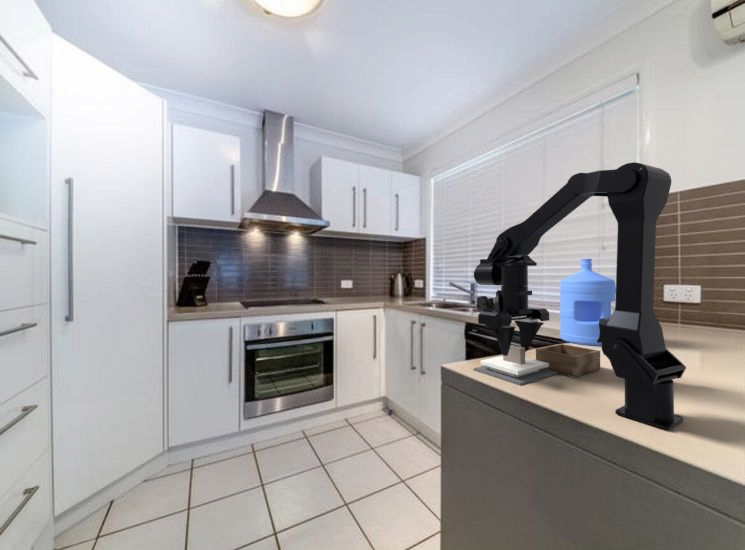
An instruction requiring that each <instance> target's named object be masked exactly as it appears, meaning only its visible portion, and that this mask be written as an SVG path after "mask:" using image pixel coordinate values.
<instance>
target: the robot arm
mask: <svg viewBox="0 0 745 550" xmlns="http://www.w3.org/2000/svg"><path fill="white" fill-rule="evenodd" d="M671 186H672V178H671V174H670V173H669V172H667V171H666V170H665V169H663V168H661V167H660V168H659V167H656V166H652V165H648V164H644V163H641V162H635V161H633V162H628V163H625V164H623V165H621V166H619V167H618V168H616V169H605V170H603V169H602V170H595V171H591V172H578V173H575V174H572V175H570V177H569V179H568V180H567V182H566V183H565V184H564V185H563V186H562V187H560V189H559V190H558V191H556V193H554V194H553V195H552V196H551V197H550V198H549V199H547V200H546V201H545V202H544V203H543V204H542V205H540V207H538V208H537V209H536V210H535V211H534V212H533V213H531V215H530V216H528V217H527V218H526V219H525V220H523V221H522V222H520V223H518V224H515V225H512V226H510V227H508V228H507V229H505V230H503V231H502V232H501V233H499V234H498V236H497V237H496V240H495V243H494V245H493V247H492V249H491V251H490V252H489V254H488V256H487V257H486V259H485V258H481V259H479V264H478V265H476V267H475V269H474V272H473V278H474V279H473V280H475V282H476V283H477V284H478V285H480V286H498V287H499V286H500V289H498V290H496V291H495V296H494V297H490V298H488V297H487V295H481V296H478V297H477V298H476V303H475V304H476V309H477V310H478V311H480V312H479V313H478V314H477V323H478V324H479V325H484V326H485V327H486V328H489V329H490V330H491V331H492V332H493V334H494V336H495V339H496V341H497V344H498V346H499V349H500V351H501V352H500V353H501V356H503V355H504V356H507V355H508V353H509V350H510V346H511V345H512V341H513V338H514V333H515V329H516V326H517V327H518V330H519V339H520V340H519V342H520V347H524V348H525V353H526V352H528V350H529V348H530V346H531V344H532V342H533V341H534V339H535V338H536V336H537V334H538V332H539V330H540V329H541V327H542V326H544V322H546V321H549V322H550V312H549V311H548V309H547V308H541V307H531V306H529V296H533V290H529V275H528V274H529V267H536V266H537V265H538V263H537V261H535V260H533V259H532V258H531V257H530V256H529V255H530V254H531V253H532V252H533V250H535V248H537V246H538V245H539V243H540V240H541V238H542V237H543V236H544V235H545V234H546V233H547V232H548V231H550V230H551V229H552V228H553V227H555V226H556V225H558V224H559V223H560V222H561V221H563V219H565V218H566V217H567V216H569V215H570V214H571V213H572V212H574V211H575V210H576V209H577V208H579V207H580V206H581V205H582V204H584V203H585V202H586V201H587V200H588V199H590V198H591V197H604V198H605V197H606V198H607V201H608V206H609V208H610V210H611V213H612V214H613V216H614V218H615V220H616V223H617V233H616V234H617V235H616V236H617V237H616V238H617V240H616V241H617V242H616V243H617V244H616V245H617V246H616V268H615V269H616V272H615V276H616V277H615V286H616V293H615V301H614V302H615V306H614V307H615V308H614V310H613V312H612V313H611V317H610V318H601V319H599V329H600V335H599V339H598V340H597V342H598V343H601V342H602V344H601V346H600V347H601V351H602V354H603V355H604V356H605V357H606V358H607V359H608V361H609V363H610V366H611V367H612V370H613V373H614V376H615V377H617V378H619V379H623V381H624V382H623V383H624V405H622V406H620V407H618V408H616V409H615V410H614V411H615V414H616V415H619V416H622V417H626V418H629V419H632V420H635V421H639V422H641V423H644V424H647V425H650V426H654V427H656V428H660V429H663V430H666V431H670V430H672V429H673V428H675V427H676V426H678V425H679V424H680V423H682V422H683V421H684V416H682V415H680V414H675V403H674V402H675V399H674V398H675V397H674V396H675V395H674V394H675V391H674V390H675V389H674V387H675V385H674V380H675V379H681V378H682V377H683V375H684V373H685V371H686V369H687V366H686V365H685V364H684V363H683V362H682V361H681V360H680V359H678V358H677V357H676V356H675V355H674V354H673V353H672V352H671V351H670V350H669V349H668V348H666V343H665V338H664V333H663V328H662V326H661V323H660V322H659V320H658V317H657V316H656V314H655V310H654V297H655V295H654V294H655V293H654V292H655V266H656V265H655V264H656V263H655V261H656V237H657V235H656V233H657V221H658V219H659V217H660V215H661V214H662V212H663V210H664V208H665V207H666V205H667V202H668V198H669V196H670V195H669V194H670V189H671ZM512 322H514V324H515V325H516V326H513V325H511V324H512Z"/></svg>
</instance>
